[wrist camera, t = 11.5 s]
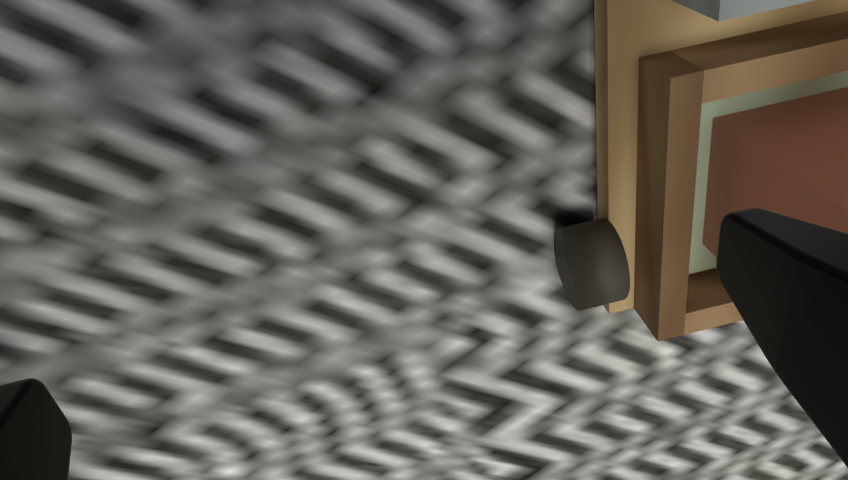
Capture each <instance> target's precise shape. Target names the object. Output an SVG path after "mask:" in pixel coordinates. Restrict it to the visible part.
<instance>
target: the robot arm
mask: <svg viewBox="0 0 848 480" xmlns="http://www.w3.org/2000/svg"><path fill="white" fill-rule="evenodd" d="M716 268H717V274H718V277H719V279H720V281H721V283H722V285H723V287H724V288H725V290H726V292H727V293H728V295H729V297H730V298H731V300H732V302H733V303H734V305H735V307H736V308H737V310H738V312H739V313H740V315H741V317H742V318H743V320H744V322H745V323H746V325H747V327H748V328H749V330H750V332H751V333H752V335H753V337H754V338H755V340H756V342H757V343H758V345H759V347H760V348H761V350H762V352H763V353H764V355H765V357H766V358H767V360H768V361H769V363H770V364H771V366H772V368H773V369H774V371H775V372H776V374H777V375H778V376H779V378H780V379H781V380H782V382H783V383H784V385H785V386H786V387H787V389H788V390H789V391H790V393H791V394H792V395H793V396H794V398H795V399H796V400H797V402H798V403H799V404H800V406H801V407H802V408H803V410H804V411H805V412H806V414H807V415H808V416H809V417H810V419H811V420H812V421H813V423H814V424H815V425H816V427H817V428H818V429H819V431H820V432H821V433H822V435H823V436H824V437H825V438H826V440H827V441H828V442H829V444H830V445H831V446H832V448H833V449H834V450H835V452H836V453H837V454H838V456H839V457H840V458H841V459H842V461H843V462H844V463H845V465H846V466H847V467H848V234H847V233H843V232H840V231H837V230H833V229H830V228H826V227H823V226H819V225H816V224H812V223H809V222H805V221H802V220H798V219H795V218H791V217H788V216H784V215H781V214H777V213H774V212H771V211H767V210H764V209H760V208H748V209H744V210H740V211H735V212H731V213H728V214H726V215H725V216H724V217H723V219H722V221H721V224H720V232H719V241H718V251H717V260H716ZM71 444H72V433H71V428H70V425H69V422H68V420H67V418H66V417H65V415H64V414H63V412H62V411H61V409H60V408H59V406H58V405H57V403H56V402H55V400H54V399H53V397H52V396H51V394H50V393H49V391H48V390H47V388H46V387H45V386H44V384H43V383H42V382H41V381H39V380H37V379H33V378H29V379H25V380H21V381H16V382H12V383H8V384H4V385H2V386H0V480H68V473H69V463H70V454H71Z"/></svg>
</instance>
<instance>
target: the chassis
mask: <svg viewBox="0 0 848 480" xmlns="http://www.w3.org/2000/svg"><path fill="white" fill-rule="evenodd" d="M594 26H595V88H596V150H597V212H598V219H596V220H592V221H587V222H583V223H579V224H575V225H570V226H566V227H562V228H558V229H557V230H556V233H555V238H554V247H555V256H556V262H557V267H558V271H559V275H560V278H561V282H562V284H563V287H564V290H565V292H566V294H567V297H568V299H569V300H570V302H571V304H572V305H573V306H574V308H575V309H577V310H579V311H580V310H584V309H588V308H592V307H597V306H601V305H604V307H605V308H606V310H607V311H608V313H609V314H611V313H615V312H619V311H623V310H627V309H631V308H634V309H635V310H636V312H637V313H638V314H639V316H640V317H641V319H642V320H643V321H644V323H645V324H646V325H647V327H648V328H649V330H650V331H651V332H652V334H653V335H654V336H655V338H656V339H657V341H661V340H665V339H669V338H673V337H677V336H681V335H685V334H689V333H693V332H697V331H701V330H705V329H709V328H713V327H717V326H721V325H725V324H729V323H733V322H737V321H741V320H743V318H742V317H741V315H740V313H739V312H738V310H737V308H736V307H735V305H734V303H733V302H732V300H731V298H730V297H729V295H728V293H727V292H726V290H725V288H724V287H723V285H722V283H721V281H720V279H719V277H718V274H717V268H716V260H717V258H716V257H715V256H714V255H713V254H712V253H711V252H710V251H709V250H708V249H707V248H706V247H705V246H704V245H703V244H702V239H703V227H704V215H705V203H706V192H707V180H708V168H709V156H710V144H711V133H712V121H713V118H714V117H719V116H723V115H727V114H732V113H736V112H740V111H745V110H749V109H753V108H758V107H762V106H766V105H771V104H775V103H779V102H784V101H788V100H792V99H797V98H801V97H805V96H810V95H814V94H818V93H823V92H827V91H831V90H836V89H840V88H844V87H848V0H594Z"/></svg>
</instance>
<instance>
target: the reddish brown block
mask: <svg viewBox="0 0 848 480" xmlns="http://www.w3.org/2000/svg"><path fill="white" fill-rule="evenodd" d="M748 208H760V209H764V210H767V211H771V212H774V213H777V214H781V215H784V216H788V217H791V218H795V219H798V220H802V221H805V222H809V223H812V224H816V225H819V226H823V227H826V228H830V229H833V230H837V231H840V232H843V233H847V234H848V87H844V88H840V89H836V90H831V91H827V92H823V93H818V94H814V95H810V96H805V97H801V98H797V99H792V100H788V101H784V102H779V103H775V104H771V105H766V106H762V107H758V108H753V109H749V110H745V111H740V112H736V113H732V114H727V115H723V116H719V117H714V118H713V121H712V133H711V144H710V156H709V168H708V180H707V192H706V203H705V215H704V227H703V239H702V244H703V245H704V246H705V247H706V248H707V249H708V250H709V251H710V252H711V253H712V254H713V255H714V256H715V257H716V258H717V251H718V241H719V232H720V224H721V221H722V219H723V217H724V216H725V215H726V214H728V213H731V212H735V211H740V210H744V209H748Z"/></svg>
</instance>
